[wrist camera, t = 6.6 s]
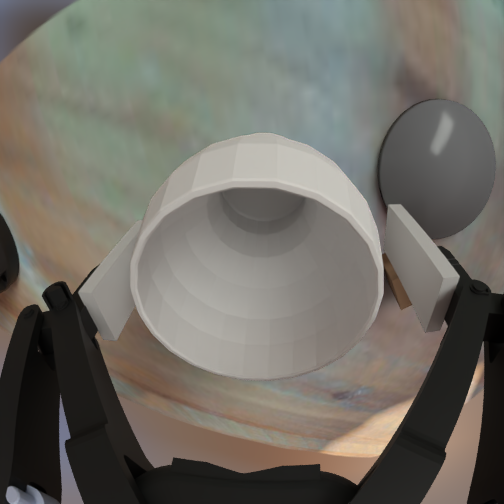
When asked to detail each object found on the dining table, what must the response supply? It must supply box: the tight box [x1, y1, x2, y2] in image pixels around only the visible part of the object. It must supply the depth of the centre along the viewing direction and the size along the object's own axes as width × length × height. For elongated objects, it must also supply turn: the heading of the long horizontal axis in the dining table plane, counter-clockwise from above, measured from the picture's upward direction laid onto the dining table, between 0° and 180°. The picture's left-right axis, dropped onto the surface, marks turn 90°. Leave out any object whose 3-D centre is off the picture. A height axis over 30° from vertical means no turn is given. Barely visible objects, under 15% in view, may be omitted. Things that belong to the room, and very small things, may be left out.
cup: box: [130, 133, 384, 381], centre depth 17 cm, size 11×11×15 cm
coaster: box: [378, 99, 496, 239], centre depth 21 cm, size 13×13×1 cm
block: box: [382, 253, 412, 310], centre depth 25 cm, size 4×4×4 cm
